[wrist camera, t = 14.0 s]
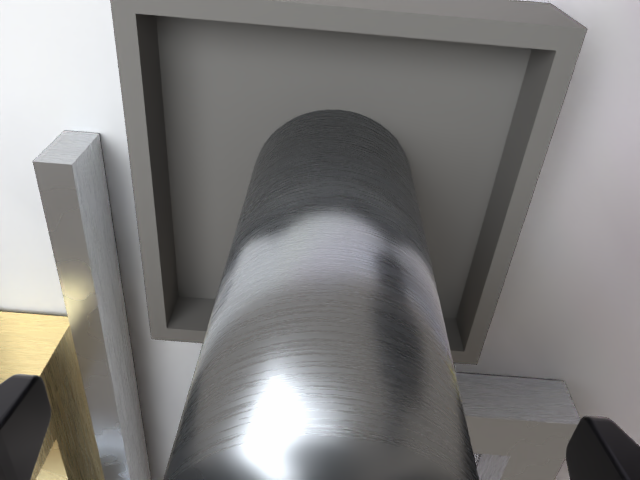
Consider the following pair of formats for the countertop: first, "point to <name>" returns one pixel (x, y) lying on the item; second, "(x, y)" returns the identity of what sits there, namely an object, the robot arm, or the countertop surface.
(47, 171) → the key guide
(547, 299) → the countertop surface
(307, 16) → the gray square tray
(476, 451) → the socket collar
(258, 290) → the peg
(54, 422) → the tan boxy piece
